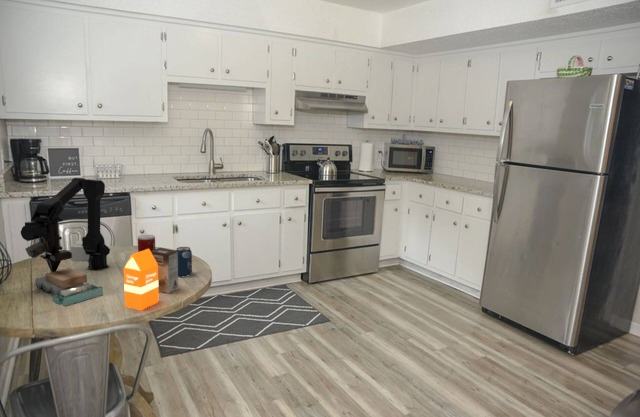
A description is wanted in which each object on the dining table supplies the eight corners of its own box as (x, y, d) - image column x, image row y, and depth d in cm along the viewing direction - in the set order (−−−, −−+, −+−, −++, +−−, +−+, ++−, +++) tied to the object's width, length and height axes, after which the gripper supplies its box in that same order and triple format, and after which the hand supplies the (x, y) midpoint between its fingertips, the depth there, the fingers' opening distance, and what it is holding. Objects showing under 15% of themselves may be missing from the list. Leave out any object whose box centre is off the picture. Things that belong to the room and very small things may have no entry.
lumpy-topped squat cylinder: (104, 259, 209) (103, 241, 207) (73, 263, 201) (71, 245, 200) (99, 253, 217) (98, 236, 215) (69, 257, 209) (68, 239, 208)
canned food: (149, 261, 208) (149, 239, 206) (134, 259, 210) (134, 237, 207) (158, 257, 215) (158, 235, 213) (144, 255, 217) (143, 233, 215)
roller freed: (87, 292, 169) (85, 283, 169) (92, 293, 167) (90, 283, 167) (60, 300, 161) (58, 290, 161) (65, 301, 159) (63, 290, 158)
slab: (69, 275, 174) (69, 267, 173) (86, 281, 168) (86, 274, 167) (45, 281, 166) (45, 273, 166) (62, 288, 160) (62, 280, 159)
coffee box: (149, 290, 173) (148, 251, 170) (160, 285, 179) (159, 247, 176) (168, 294, 170) (167, 254, 167) (179, 288, 176) (178, 250, 173)
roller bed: (68, 279, 181) (67, 269, 180) (104, 294, 167) (103, 283, 166) (29, 289, 169) (28, 278, 168) (63, 306, 155) (63, 295, 154)
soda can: (192, 276, 190) (192, 250, 188) (175, 278, 187) (175, 251, 185) (191, 271, 196) (191, 245, 194) (175, 272, 194) (174, 246, 192)
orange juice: (124, 306, 157) (122, 253, 153) (142, 298, 165) (140, 247, 161) (142, 310, 154) (140, 256, 151) (159, 301, 162) (157, 249, 159)
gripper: (15, 234, 167) (19, 273, 170) (40, 243, 158) (43, 284, 160) (46, 229, 177) (49, 266, 180) (71, 237, 167) (74, 276, 170)
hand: (53, 272), depth 172 cm, fingers closed
